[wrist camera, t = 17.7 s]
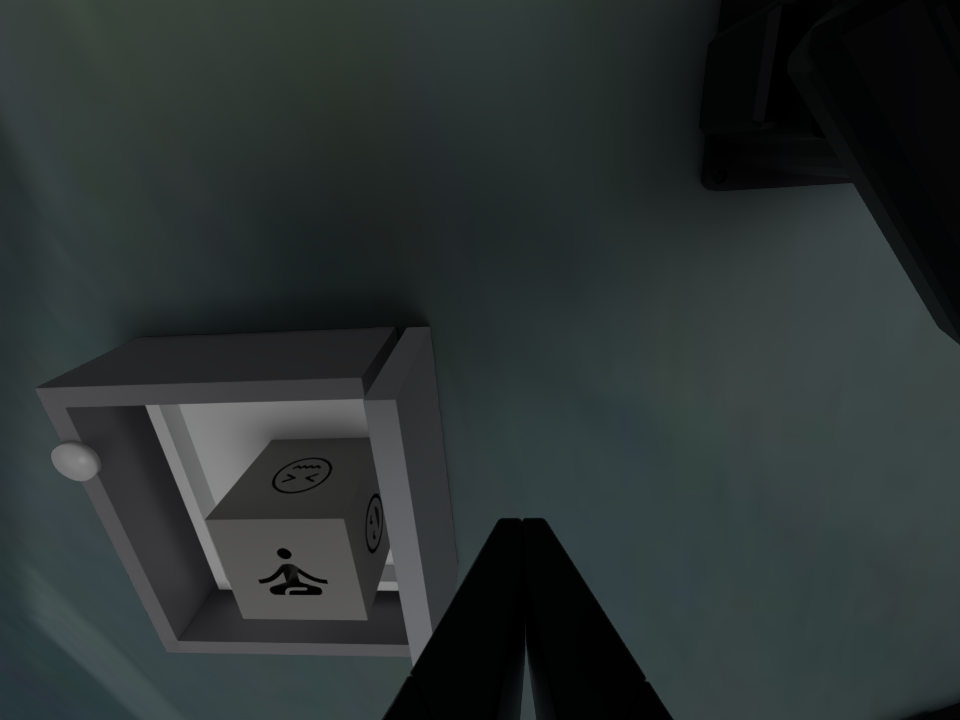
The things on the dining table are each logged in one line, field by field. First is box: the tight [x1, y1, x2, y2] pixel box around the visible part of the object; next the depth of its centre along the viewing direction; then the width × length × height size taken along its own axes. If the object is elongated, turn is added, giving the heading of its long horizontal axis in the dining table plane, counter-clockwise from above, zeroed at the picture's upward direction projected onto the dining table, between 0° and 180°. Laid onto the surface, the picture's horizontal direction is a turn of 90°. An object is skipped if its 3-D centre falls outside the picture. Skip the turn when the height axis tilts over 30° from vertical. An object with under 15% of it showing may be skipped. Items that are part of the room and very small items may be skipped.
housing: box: [35, 326, 411, 657], centre depth 21 cm, size 12×14×5 cm
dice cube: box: [205, 437, 390, 620], centre depth 19 cm, size 5×5×5 cm
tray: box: [145, 327, 458, 667], centre depth 20 cm, size 12×14×6 cm
